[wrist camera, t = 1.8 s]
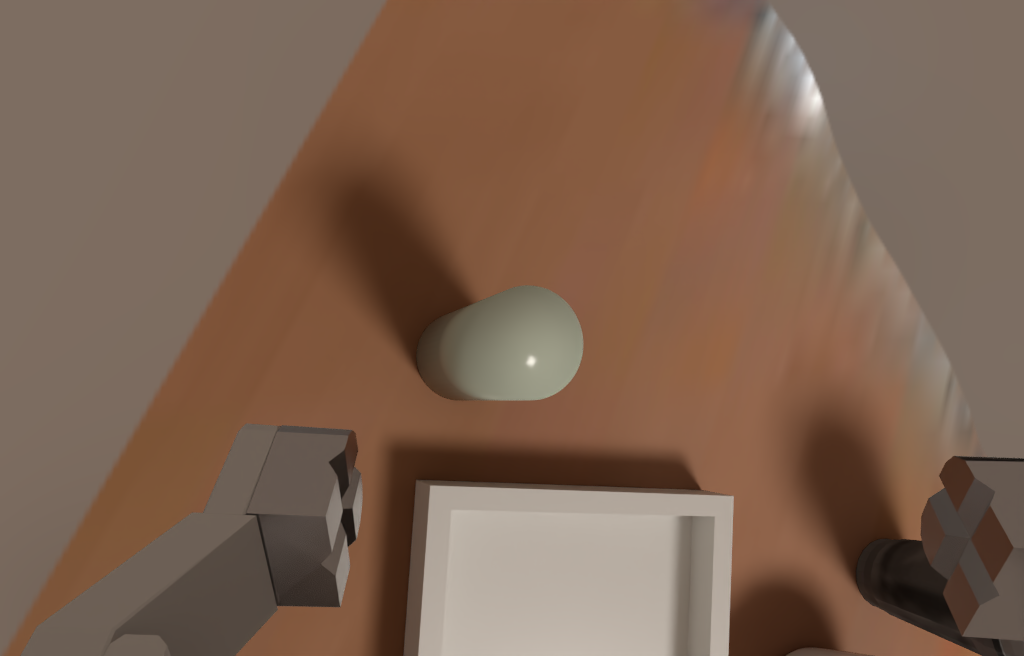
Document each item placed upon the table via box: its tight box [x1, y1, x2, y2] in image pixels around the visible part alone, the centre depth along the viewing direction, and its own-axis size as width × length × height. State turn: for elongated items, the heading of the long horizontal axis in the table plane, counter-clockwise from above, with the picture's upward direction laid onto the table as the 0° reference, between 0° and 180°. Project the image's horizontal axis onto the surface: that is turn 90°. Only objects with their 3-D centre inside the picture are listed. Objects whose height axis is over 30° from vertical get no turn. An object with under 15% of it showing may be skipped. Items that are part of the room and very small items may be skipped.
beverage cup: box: [856, 539, 1024, 656], centre depth 46 cm, size 7×7×20 cm
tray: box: [403, 480, 734, 656], centre depth 47 cm, size 18×16×4 cm
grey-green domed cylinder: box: [416, 286, 583, 400], centre depth 42 cm, size 5×5×12 cm
